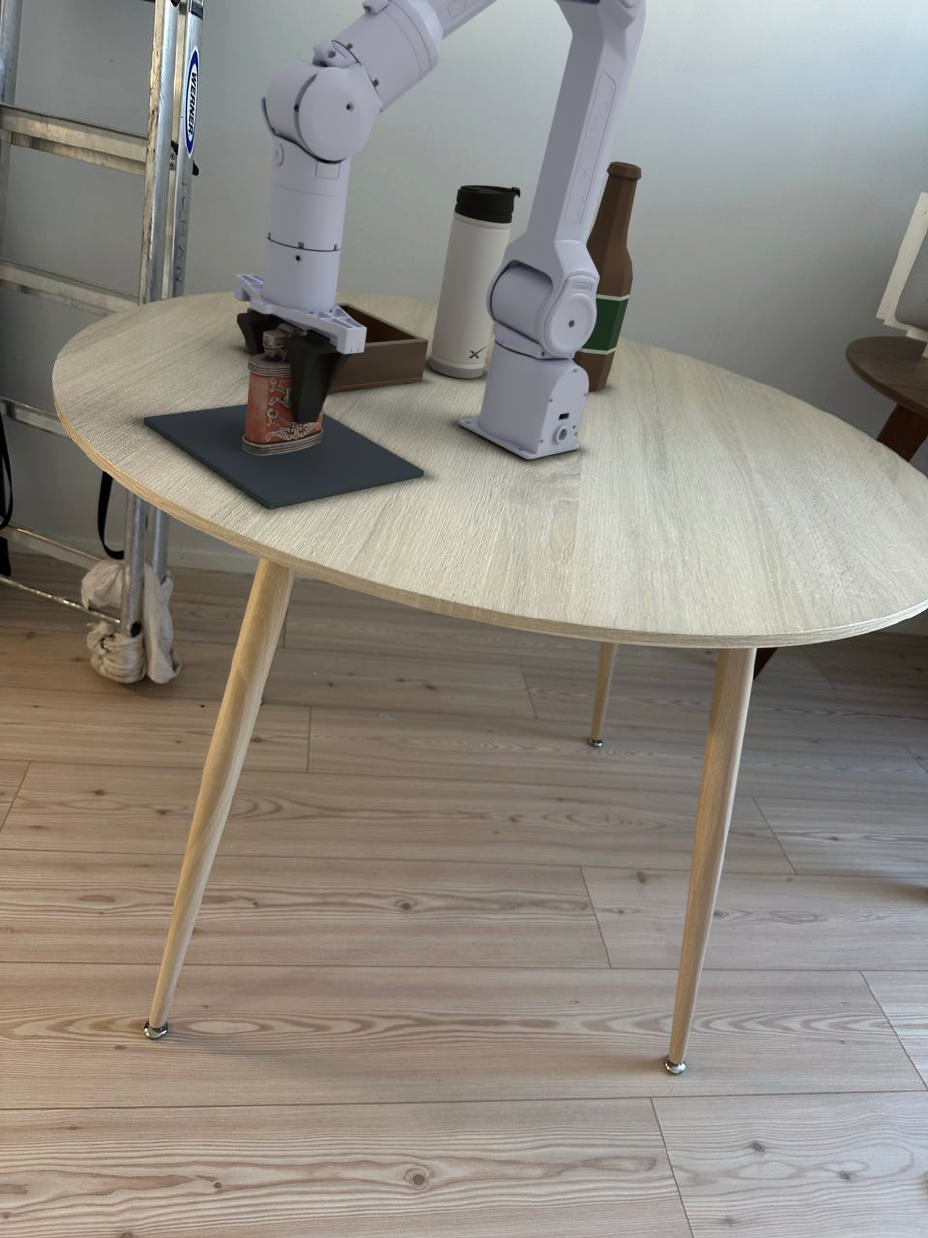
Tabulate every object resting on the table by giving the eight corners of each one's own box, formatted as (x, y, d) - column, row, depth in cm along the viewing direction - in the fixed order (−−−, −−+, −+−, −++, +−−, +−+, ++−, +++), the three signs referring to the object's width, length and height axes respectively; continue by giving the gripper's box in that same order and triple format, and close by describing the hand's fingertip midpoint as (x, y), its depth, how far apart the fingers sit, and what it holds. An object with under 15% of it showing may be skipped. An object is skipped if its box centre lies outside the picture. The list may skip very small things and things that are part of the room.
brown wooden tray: (422, 381, 107) (428, 340, 105) (323, 393, 98) (328, 349, 95) (343, 341, 114) (347, 302, 112) (244, 349, 105) (246, 307, 103)
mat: (423, 475, 85) (424, 470, 84) (269, 509, 74) (269, 503, 73) (296, 402, 94) (296, 397, 94) (143, 422, 83) (143, 416, 83)
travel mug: (485, 383, 110) (522, 193, 100) (427, 372, 110) (458, 180, 100) (485, 367, 116) (520, 185, 106) (430, 357, 115) (460, 173, 105)
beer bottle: (604, 378, 121) (659, 167, 109) (606, 396, 114) (664, 174, 102) (542, 365, 121) (590, 153, 109) (541, 383, 114) (591, 159, 102)
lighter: (260, 459, 80) (270, 337, 75) (232, 444, 82) (240, 323, 77) (330, 442, 86) (344, 327, 81) (303, 428, 87) (315, 315, 82)
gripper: (205, 217, 77) (198, 385, 84) (321, 268, 69) (302, 450, 76) (279, 218, 81) (267, 378, 88) (396, 267, 74) (372, 438, 80)
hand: (288, 411), depth 82 cm, fingers open, 4 cm apart
